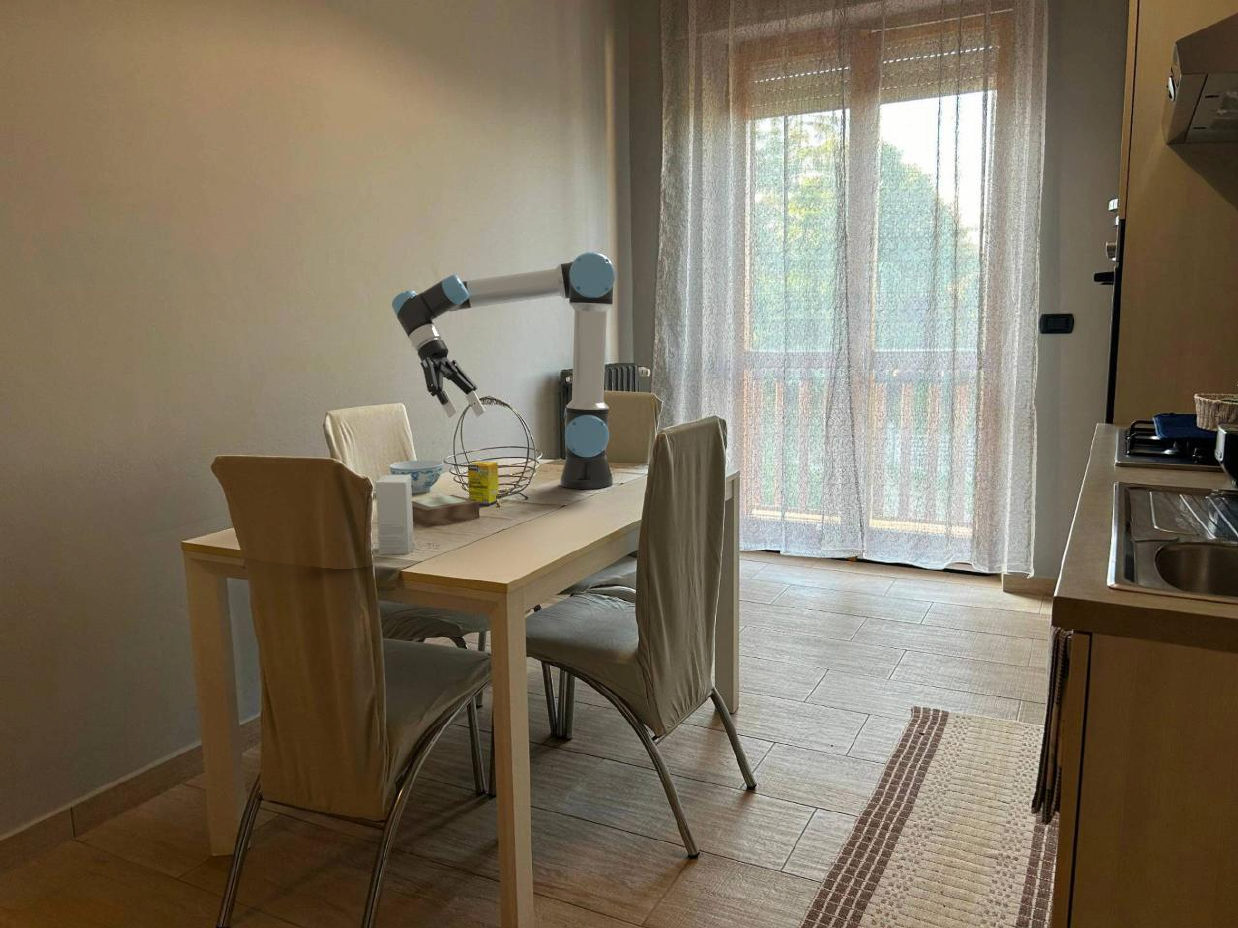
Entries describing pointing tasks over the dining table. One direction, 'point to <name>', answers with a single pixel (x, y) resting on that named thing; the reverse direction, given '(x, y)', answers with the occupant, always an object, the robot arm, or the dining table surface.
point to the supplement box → (483, 482)
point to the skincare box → (394, 514)
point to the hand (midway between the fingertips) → (467, 414)
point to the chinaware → (419, 473)
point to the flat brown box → (444, 510)
